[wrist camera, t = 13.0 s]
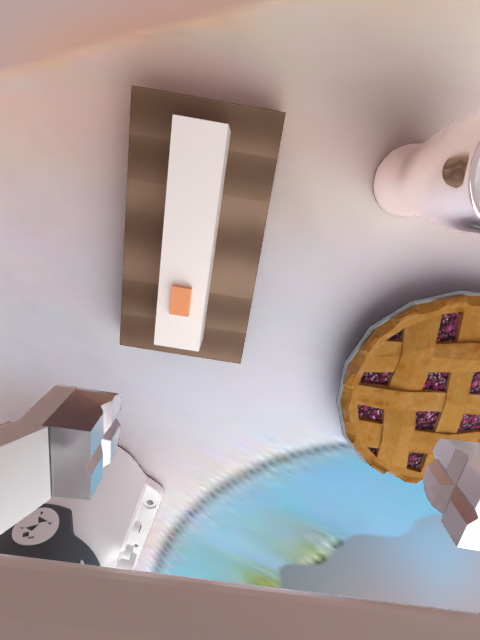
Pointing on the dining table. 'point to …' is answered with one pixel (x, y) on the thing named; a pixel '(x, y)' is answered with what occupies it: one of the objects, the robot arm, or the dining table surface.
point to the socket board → (233, 228)
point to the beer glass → (435, 178)
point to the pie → (414, 384)
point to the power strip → (190, 229)
